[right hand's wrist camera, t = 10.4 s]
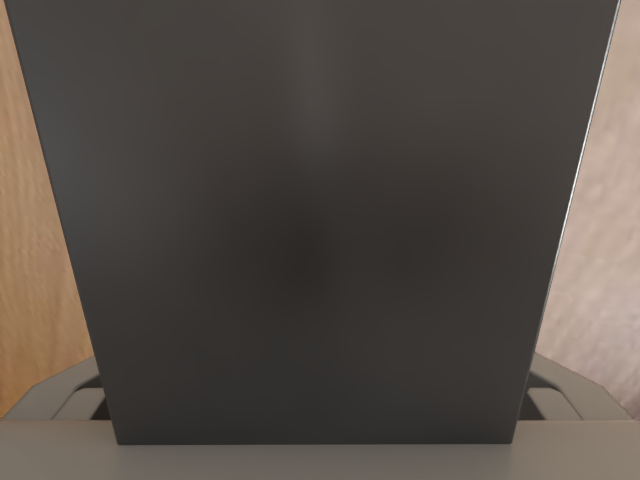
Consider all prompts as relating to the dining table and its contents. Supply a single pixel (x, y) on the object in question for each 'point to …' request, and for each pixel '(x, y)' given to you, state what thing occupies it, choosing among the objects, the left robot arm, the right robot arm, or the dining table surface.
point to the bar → (313, 205)
